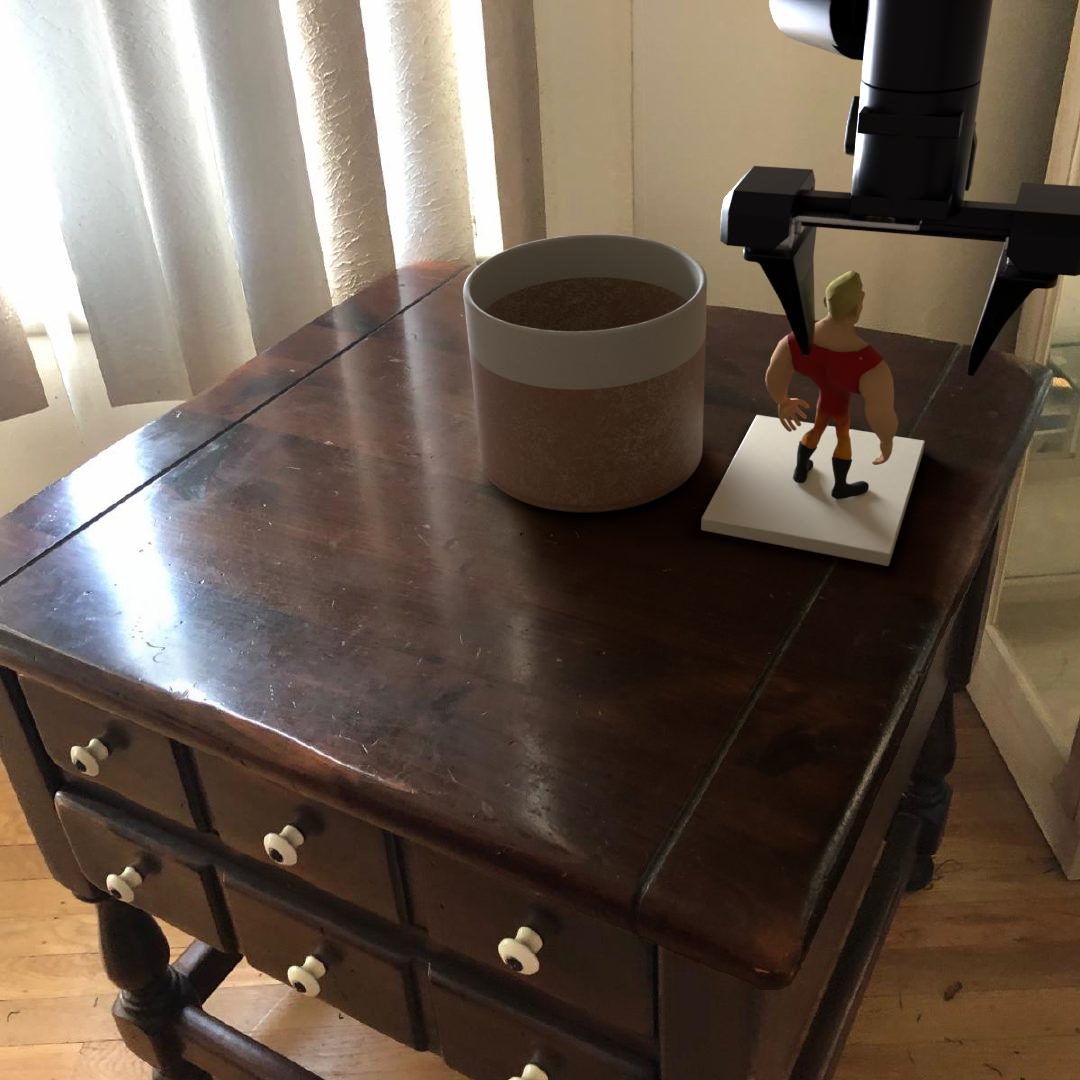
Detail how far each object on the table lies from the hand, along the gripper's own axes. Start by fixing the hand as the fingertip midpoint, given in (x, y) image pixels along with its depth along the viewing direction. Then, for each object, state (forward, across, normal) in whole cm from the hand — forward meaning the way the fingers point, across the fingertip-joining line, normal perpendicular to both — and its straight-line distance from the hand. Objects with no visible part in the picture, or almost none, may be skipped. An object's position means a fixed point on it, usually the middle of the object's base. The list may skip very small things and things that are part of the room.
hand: (887, 362), depth 66 cm
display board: (+12, +4, -5) cm, 14 cm away
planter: (+12, +20, -4) cm, 24 cm away
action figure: (+12, +4, -4) cm, 13 cm away
